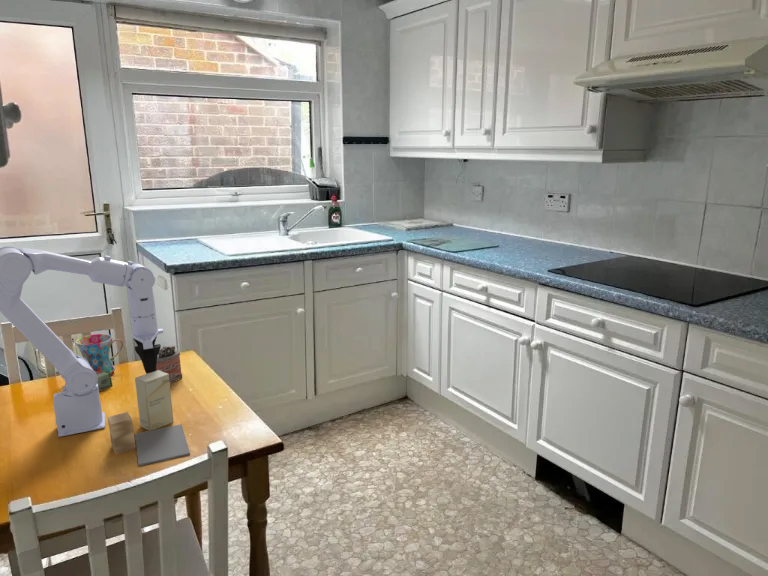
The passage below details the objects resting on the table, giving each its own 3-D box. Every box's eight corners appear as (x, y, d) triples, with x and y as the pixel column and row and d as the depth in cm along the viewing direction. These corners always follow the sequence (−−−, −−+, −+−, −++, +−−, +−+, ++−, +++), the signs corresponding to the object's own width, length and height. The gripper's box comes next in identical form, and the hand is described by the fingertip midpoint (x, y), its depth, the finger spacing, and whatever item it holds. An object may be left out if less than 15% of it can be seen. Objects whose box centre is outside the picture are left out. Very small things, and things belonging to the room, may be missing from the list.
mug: (84, 384, 156) (78, 347, 153) (77, 373, 163) (72, 338, 160) (130, 373, 163) (126, 337, 160) (122, 363, 170) (117, 329, 167)
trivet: (138, 466, 116) (138, 464, 116) (135, 435, 128) (134, 433, 128) (190, 454, 120) (189, 452, 120) (181, 425, 132) (181, 424, 132)
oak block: (115, 454, 121) (111, 424, 119) (111, 446, 124) (107, 417, 122) (135, 448, 123) (131, 418, 121) (131, 440, 126) (127, 411, 124)
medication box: (107, 384, 156) (105, 370, 155) (113, 386, 155) (111, 372, 154) (63, 400, 146) (60, 386, 145) (69, 403, 145) (66, 388, 144)
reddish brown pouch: (177, 374, 161) (174, 341, 159) (185, 377, 160) (181, 343, 157) (152, 384, 155) (147, 349, 153) (159, 387, 153) (155, 352, 151)
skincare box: (150, 432, 130) (144, 382, 127) (139, 426, 132) (133, 377, 129) (174, 421, 135) (169, 373, 131) (164, 416, 137) (158, 369, 134)
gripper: (163, 320, 131) (170, 374, 135) (158, 304, 144) (164, 354, 148) (130, 324, 129) (137, 380, 132) (127, 308, 141) (134, 359, 145)
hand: (149, 367), depth 140 cm, fingers open, 7 cm apart
